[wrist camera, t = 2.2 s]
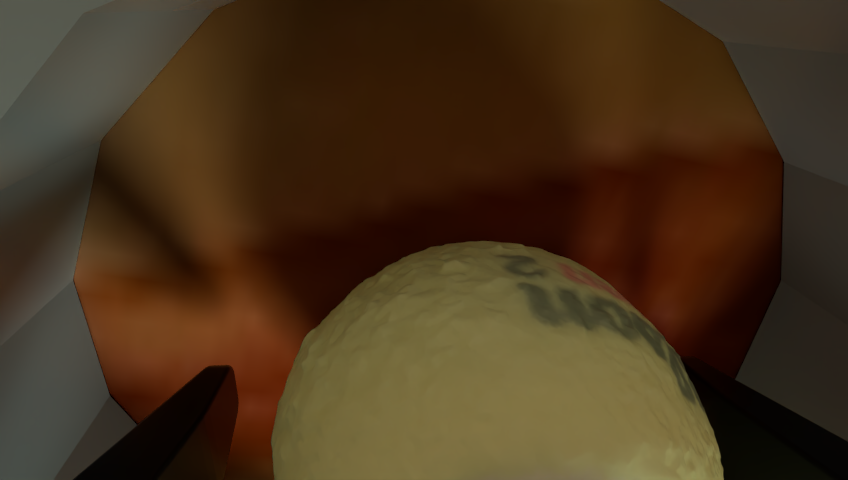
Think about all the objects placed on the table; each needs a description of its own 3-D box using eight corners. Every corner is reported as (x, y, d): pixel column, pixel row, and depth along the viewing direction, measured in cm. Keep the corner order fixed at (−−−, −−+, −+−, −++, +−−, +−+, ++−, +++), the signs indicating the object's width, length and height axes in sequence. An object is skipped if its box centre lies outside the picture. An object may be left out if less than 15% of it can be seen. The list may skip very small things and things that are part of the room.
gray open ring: (1009, -88, 7) (1476, -157, 4) (687, 544, 15) (772, 689, 12) (-175, -211, 6) (-886, -490, 2) (129, 581, 13) (51, 767, 10)
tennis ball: (980, 750, 5) (605, 498, 2) (484, 824, 7) (46, 749, 5) (684, 316, 10) (476, 97, 8) (458, 447, 13) (247, 318, 10)
